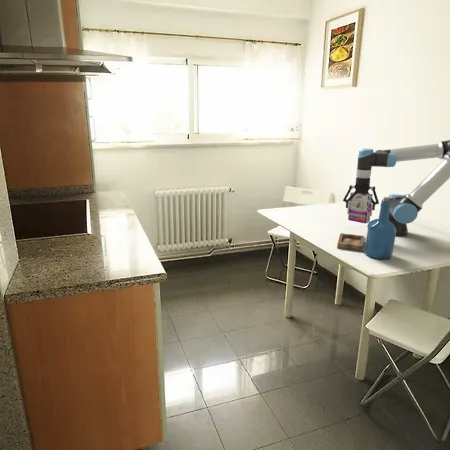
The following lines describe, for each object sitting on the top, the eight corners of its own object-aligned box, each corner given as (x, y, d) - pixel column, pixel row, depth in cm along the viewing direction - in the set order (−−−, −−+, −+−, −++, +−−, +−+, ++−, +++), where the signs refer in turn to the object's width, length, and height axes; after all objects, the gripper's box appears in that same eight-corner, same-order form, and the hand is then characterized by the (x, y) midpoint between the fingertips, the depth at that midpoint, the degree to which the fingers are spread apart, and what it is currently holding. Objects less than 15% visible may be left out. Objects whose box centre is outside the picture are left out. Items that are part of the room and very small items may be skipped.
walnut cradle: (363, 240, 214) (363, 235, 213) (362, 251, 197) (362, 246, 197) (339, 238, 218) (340, 233, 217) (337, 248, 202) (337, 242, 201)
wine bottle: (386, 251, 199) (395, 194, 190) (396, 260, 186) (406, 200, 178) (359, 250, 199) (367, 194, 191) (368, 259, 187) (376, 200, 178)
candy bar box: (370, 222, 217) (373, 194, 213) (365, 224, 214) (369, 195, 209) (351, 218, 225) (354, 191, 220) (347, 220, 222) (350, 192, 217)
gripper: (386, 177, 211) (381, 214, 218) (341, 174, 219) (338, 211, 226) (386, 179, 205) (381, 218, 211) (340, 176, 213) (336, 214, 219)
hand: (359, 214), depth 218 cm, fingers closed on candy bar box, 12 cm apart
